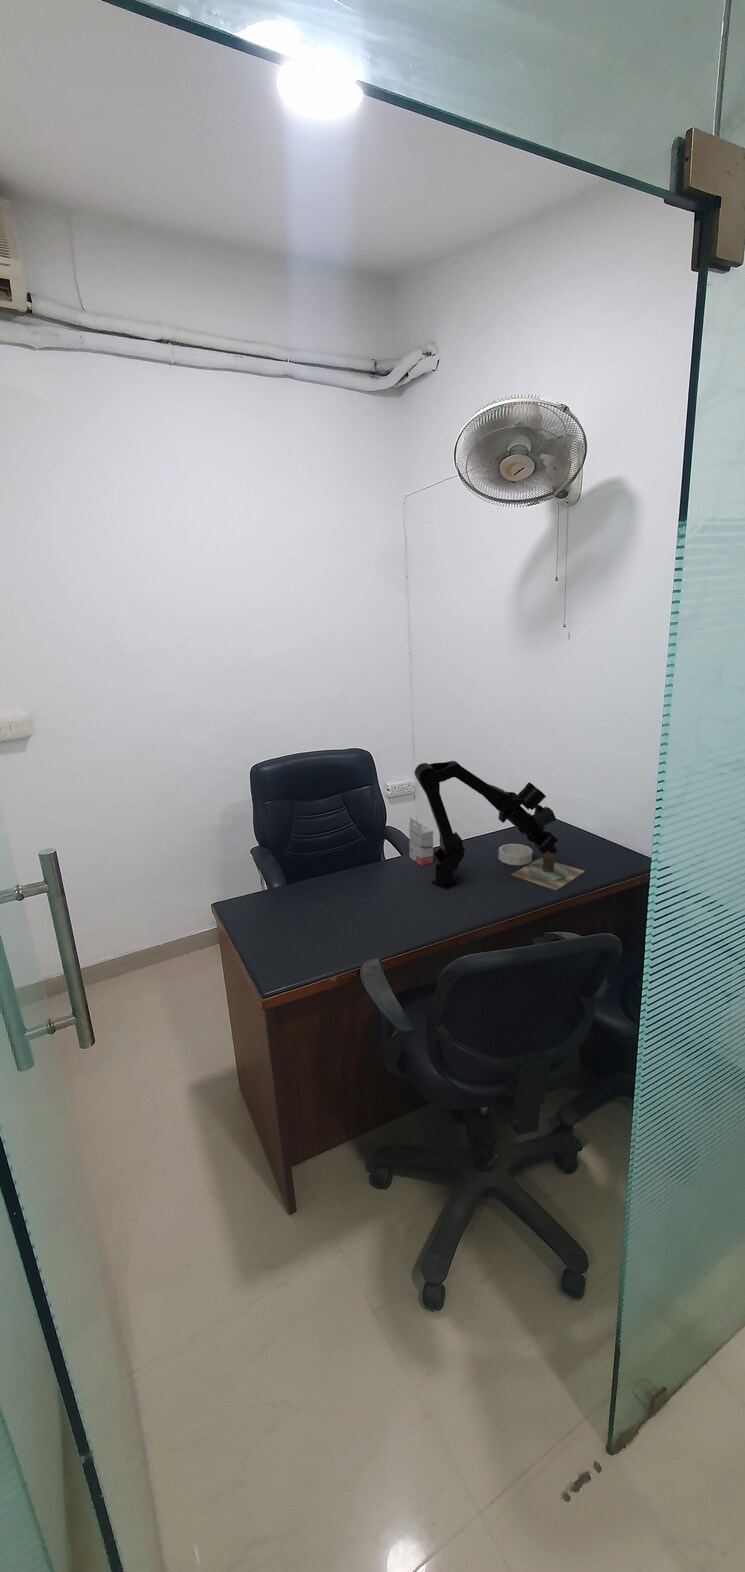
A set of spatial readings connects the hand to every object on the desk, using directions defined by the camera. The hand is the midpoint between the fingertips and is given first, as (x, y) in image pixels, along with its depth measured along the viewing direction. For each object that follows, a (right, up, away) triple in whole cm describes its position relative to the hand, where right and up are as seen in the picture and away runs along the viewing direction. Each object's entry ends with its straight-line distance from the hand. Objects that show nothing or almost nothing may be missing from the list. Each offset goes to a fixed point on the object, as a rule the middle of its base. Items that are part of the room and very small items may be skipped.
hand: (553, 850), depth 191 cm
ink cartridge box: (-41, -5, +15) cm, 44 cm away
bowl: (-9, -4, +14) cm, 17 cm away
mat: (-1, -8, +2) cm, 8 cm away
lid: (-1, -8, +2) cm, 8 cm away
